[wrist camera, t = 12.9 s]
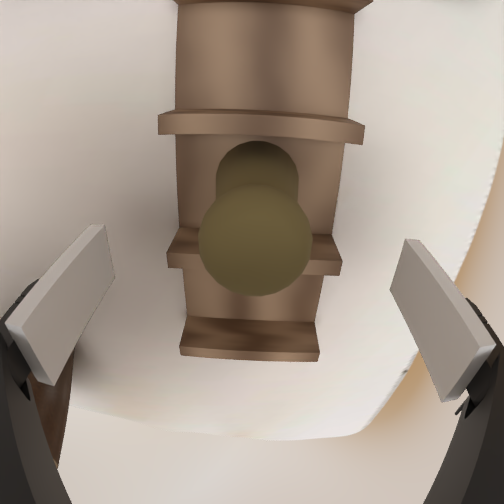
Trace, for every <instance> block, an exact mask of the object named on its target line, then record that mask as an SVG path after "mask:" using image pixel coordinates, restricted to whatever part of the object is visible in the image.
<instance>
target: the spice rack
mask: <svg viewBox="0 0 504 504" xmlns="http://www.w3.org/2000/svg"><path fill="white" fill-rule="evenodd" d="M174 1H175V2H176V3H177V4H178V21H177V41H176V75H175V110H172V111H169V112H166V113H163V114H160V115H158V135H166V134H175V136H176V172H177V195H178V213H179V229H178V231H177V233H176V235H175V237H174V239H173V241H172V243H171V245H170V247H169V249H168V251H167V262H168V268H183V278H184V288H185V298H186V308H187V319H186V323H185V326H184V330H183V334H182V338H181V341H180V345H179V348H180V354H181V355H183V356H194V357H205V358H219V359H234V360H254V361H287V362H317V361H318V358H319V354H320V350H319V345H318V339H317V334H316V328H315V323H314V321H315V316H316V312H317V307H318V302H319V298H320V293H321V288H322V283H323V278H324V275H330V276H339V275H340V271H341V266H342V259H341V256H340V254H339V252H338V249H337V247H336V244H335V242H334V240H333V237H332V235H331V234H332V229H333V223H334V216H335V210H336V204H337V197H338V190H339V183H340V176H341V169H342V161H343V153H344V145H345V143H351V144H358V145H363V138H364V130H365V125H362V124H360V123H358V122H355V121H353V120H350V119H348V108H349V97H350V85H351V71H352V56H353V37H354V14H355V13H357V12H358V11H359V10H361V9H362V8H364V7H365V6H367V5H368V4H370V3H372V2H373V0H174ZM249 141H266V142H269V143H272V144H275V145H277V146H279V147H280V148H282V149H283V150H284V151H285V152H287V153H288V154H289V155H290V157H291V158H292V160H293V161H294V163H295V164H296V168H297V172H298V176H299V183H298V204H299V205H300V207H301V208H302V210H303V211H304V213H305V214H306V216H307V218H308V220H309V224H310V228H311V232H312V237H313V241H312V248H311V255H310V260H309V262H308V264H307V266H306V267H305V269H304V271H303V273H302V274H301V275H300V276H299V277H298V278H297V279H296V280H295V281H294V282H293V283H292V284H291V285H290V286H288V287H286V288H284V289H283V290H281V291H279V292H277V293H274V294H270V295H265V296H261V297H260V296H244V295H241V294H237V293H234V292H231V291H230V290H228V289H226V288H225V287H223V286H222V285H220V284H219V283H217V282H216V281H215V279H214V278H213V277H212V276H211V275H210V274H209V273H208V272H207V270H206V269H205V267H204V264H203V262H202V260H201V257H200V253H199V241H198V233H199V229H200V226H201V223H202V220H203V217H204V215H205V213H206V212H207V210H208V209H209V208H210V206H211V205H212V204H213V202H214V201H215V200H216V172H217V169H218V166H219V163H220V161H221V160H222V159H223V157H224V156H225V155H226V153H227V152H228V151H230V150H231V149H233V148H234V147H236V146H237V145H239V144H242V143H245V142H249Z"/></svg>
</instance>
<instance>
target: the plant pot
mask: <svg viewBox="0 0 504 504" xmlns="http://www.w3.org/2000/svg"><path fill="white" fill-rule="evenodd" d="M73 358H74V349H73V351H72V352H71V354H70V356H69V358H68V360H67V362H66V364H65V366H64V368H63V370H62V372H61V374H60V376H59V378H58V380H57V382H56V384H55V386H52V385H49V384H45V383H42V382H39V381H38V380H37V379H36V377H35V376H34V374H33V373H32V371H31V372H30V373H29V375H28V377H27V378H28V379H29V381H30V383H31V386H32V390H33V395H34V399H35V403H36V406H37V410H38V414H39V417H40V421H41V424H42V427H43V431H44V434H45V437H46V440H47V443H48V446H49V449H50V452H51V454H52V457H53V460H54V463H55V465H56V468H58V464H59V459H60V454H61V448H62V443H63V438H64V432H65V427H66V421H67V414H68V406H69V400H70V392H71V382H72V371H73Z"/></svg>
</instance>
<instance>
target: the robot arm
mask: <svg viewBox="0 0 504 504" xmlns="http://www.w3.org/2000/svg"><path fill="white" fill-rule="evenodd" d="M114 278H115V274H114V269H113V265H112V260H111V255H110V250H109V245H108V240H107V234H106V228H105V225H92V224H90V225H89V226H88V227H87V228H86V229H85V230H84V231H83V232H82V234H81V235H80V236H79V237H78V238H77V239H76V240H75V241H74V242H73V243H72V244H71V245H70V246H69V247H68V248H67V249H66V250H65V251H64V252H63V254H62V255H61V256H60V257H59V258H58V259H57V260H56V261H55V262H54V263H53V265H52V266H51V267H50V268H49V269H48V270H47V271H46V273H45V274H44V275H43V276H42V277H41V278H40V279H37V280H36V281H35V282H33V283H32V284H30V285H29V286H28V287H27V288H26V289H25V290H24V291H23V292H22V294H21V296H19V297H18V299H17V300H16V301H15V303H13V305H12V306H11V307H10V308H9V310H8V311H7V312H6V314H5V315H4V316H3V317H2V319H1V320H0V504H72V503H71V501H70V498H69V496H68V494H67V492H66V490H65V487H64V485H63V483H62V481H61V478H60V475H59V473H58V470H57V468H56V465H55V463H54V460H53V457H52V454H51V452H50V449H49V446H48V443H47V440H46V437H45V434H44V431H43V427H42V424H41V421H40V417H39V414H38V410H37V406H36V403H35V399H34V395H33V390H32V386H31V383H30V381H29V379H28V378H27V377H28V375H29V373H30V372H31V371H32V373H33V374H34V376H35V377H36V379H37V380H38V381H39V382H42V383H45V384H49V385H52V386H55V384H56V382H57V380H58V378H59V376H60V374H61V372H62V370H63V368H64V366H65V364H66V362H67V360H68V358H69V356H70V354H71V352H72V351H73V349H74V347H75V345H76V343H77V341H78V340H79V338H80V336H81V334H82V332H83V331H84V329H85V327H86V325H87V323H88V322H89V320H90V318H91V317H92V315H93V313H94V311H95V310H96V308H97V306H98V305H99V303H100V301H101V300H102V298H103V296H104V295H105V293H106V291H107V290H108V288H109V286H110V285H111V283H112V282H113V280H114ZM390 291H391V293H392V295H393V297H394V299H395V301H396V303H397V305H398V307H399V309H400V311H401V313H402V315H403V317H404V319H405V321H406V323H407V325H408V327H409V329H410V331H411V333H412V336H413V338H414V340H415V342H416V344H417V346H418V348H419V351H420V353H421V355H422V357H423V359H424V362H425V364H426V366H427V369H428V371H429V373H430V376H431V378H432V380H433V383H434V385H435V387H436V390H437V392H438V395H439V397H440V400H441V402H446V401H451V400H456V399H458V398H459V397H460V396H461V394H462V393H463V392H464V390H465V389H467V391H468V393H469V396H468V397H467V399H466V400H465V401H464V402H463V404H462V405H461V406H460V407H459V408H458V410H457V411H456V412H455V415H457V414H458V413H459V412H460V411H461V410H462V412H461V415H460V418H459V421H458V424H457V427H456V430H455V433H454V436H453V438H452V441H451V443H450V446H449V448H448V451H447V454H446V456H445V458H444V461H443V463H442V466H441V468H440V470H439V472H438V474H437V477H436V479H435V481H434V483H433V485H432V487H431V489H430V491H429V493H428V495H427V497H426V499H425V501H424V503H423V504H504V346H503V345H502V343H501V342H500V340H499V338H498V337H497V335H496V334H495V332H494V331H493V329H492V328H491V327H490V325H489V324H487V320H486V319H485V317H483V316H482V313H481V312H480V310H479V309H478V308H477V306H476V305H475V304H474V303H472V302H471V301H470V300H469V299H468V298H464V296H463V295H462V293H461V292H460V291H459V289H458V288H457V287H456V285H455V284H454V283H453V281H452V280H451V279H450V277H449V276H448V275H447V273H446V272H445V271H444V270H443V268H442V267H441V266H440V265H439V263H438V262H437V261H436V260H435V258H434V257H433V256H432V255H431V253H430V252H429V251H428V250H427V249H426V247H425V246H424V245H423V244H422V243H421V241H420V240H413V239H405V241H404V245H403V248H402V252H401V255H400V259H399V262H398V265H397V269H396V272H395V275H394V278H393V281H392V284H391V287H390Z"/></svg>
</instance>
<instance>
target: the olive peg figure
mask: <svg viewBox="0 0 504 504" xmlns="http://www.w3.org/2000/svg"><path fill="white" fill-rule="evenodd" d="M298 183H299V176H298V172H297V168H296V164H295V163H294V161H293V160H292V158H291V157H290V155H289V154H288V153H287V152H285V151H284V150H283V149H282V148H280V147H279V146H277V145H275V144H272V143H269V142H266V141H249V142H245V143H242V144H239V145H237V146H236V147H234V148H233V149H231V150H230V151H228V152H227V153H226V155H225V156H224V157H223V159H222V160H221V161H220V163H219V166H218V169H217V172H216V200H215V201H214V202H213V204H212V205H211V206H210V208H209V209H208V210H207V212H206V213H205V215H204V217H203V220H202V223H201V226H200V229H199V233H198V241H199V253H200V257H201V260H202V262H203V264H204V267H205V269H206V270H207V272H208V273H209V274H210V275H211V276H212V277H213V278H214V279H215V281H216V282H217V283H219V284H220V285H222V286H223V287H225V288H226V289H228V290H230V291H231V292H234V293H237V294H241V295H244V296H260V297H261V296H265V295H270V294H274V293H277V292H279V291H281V290H283V289H284V288H286V287H288V286H290V285H291V284H292V283H293V282H294V281H295V280H296V279H297V278H298V277H299V276H300V275H301V274H302V273H303V271H304V269H305V267H306V266H307V264H308V262H309V260H310V255H311V248H312V241H313V237H312V232H311V228H310V224H309V220H308V218H307V216H306V214H305V213H304V211H303V210H302V208H301V207H300V205H299V204H298Z"/></svg>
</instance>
